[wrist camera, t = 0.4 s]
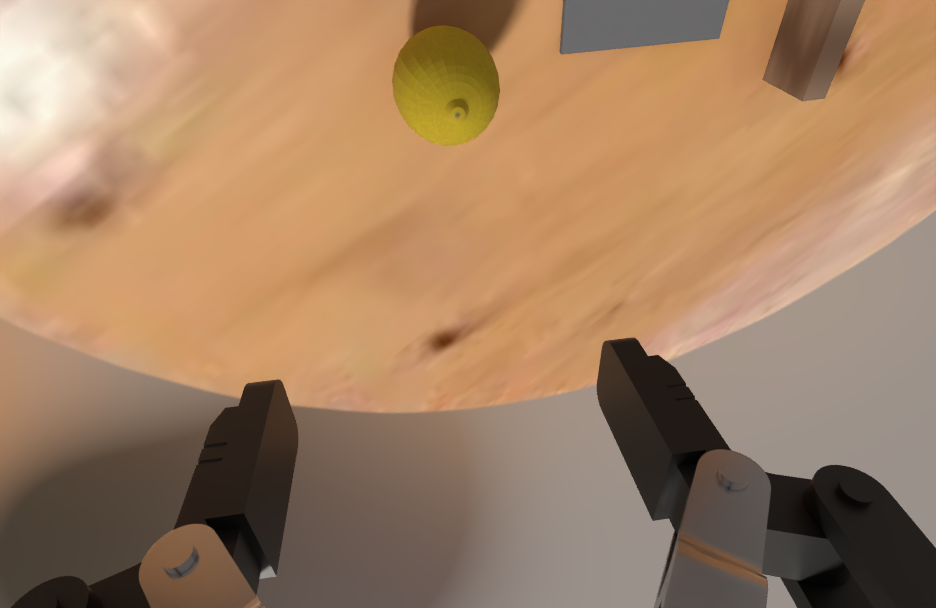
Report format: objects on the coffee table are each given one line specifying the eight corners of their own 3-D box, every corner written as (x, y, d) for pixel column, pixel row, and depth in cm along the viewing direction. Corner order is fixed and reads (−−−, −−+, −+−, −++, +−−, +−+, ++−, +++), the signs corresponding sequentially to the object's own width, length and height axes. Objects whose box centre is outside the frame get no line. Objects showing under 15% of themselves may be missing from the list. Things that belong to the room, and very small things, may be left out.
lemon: (379, 16, 28) (388, 60, 22) (479, 4, 29) (515, 44, 23) (396, 116, 32) (408, 177, 26) (484, 104, 32) (516, 161, 26)
